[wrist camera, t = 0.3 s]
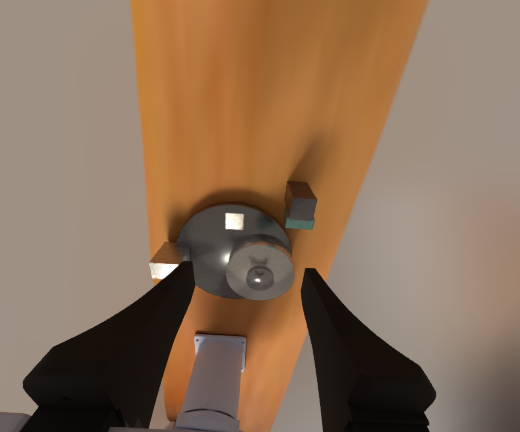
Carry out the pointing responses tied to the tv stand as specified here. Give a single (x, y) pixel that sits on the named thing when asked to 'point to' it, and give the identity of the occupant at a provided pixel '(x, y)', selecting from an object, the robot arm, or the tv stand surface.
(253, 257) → the cover
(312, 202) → the stacked blocks
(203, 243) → the turntable
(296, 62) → the tv stand surface
